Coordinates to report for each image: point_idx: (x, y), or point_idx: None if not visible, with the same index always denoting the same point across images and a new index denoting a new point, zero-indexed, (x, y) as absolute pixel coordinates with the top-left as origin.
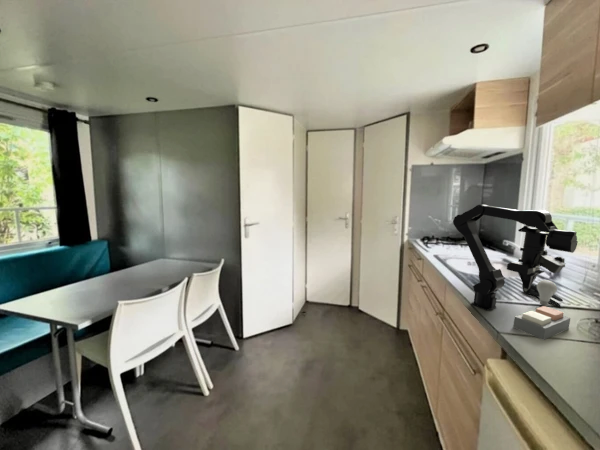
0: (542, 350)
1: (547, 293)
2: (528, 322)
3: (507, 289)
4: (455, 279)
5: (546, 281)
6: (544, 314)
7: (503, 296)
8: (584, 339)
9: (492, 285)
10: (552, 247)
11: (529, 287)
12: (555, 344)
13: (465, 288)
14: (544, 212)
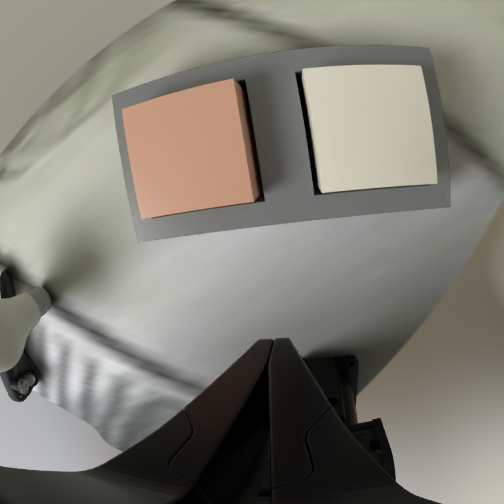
0: (481, 39)
1: (10, 312)
2: (442, 130)
3: (70, 410)
4: None
5: None
6: (248, 143)
7: (126, 400)
8: (187, 19)
9: (386, 461)
10: None
11: (267, 346)
12: (387, 26)
13: None
14: None
